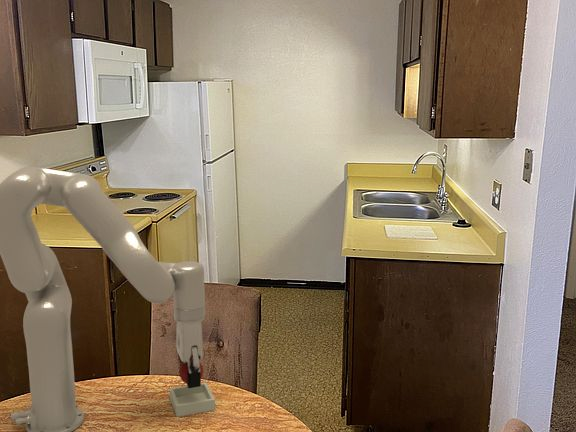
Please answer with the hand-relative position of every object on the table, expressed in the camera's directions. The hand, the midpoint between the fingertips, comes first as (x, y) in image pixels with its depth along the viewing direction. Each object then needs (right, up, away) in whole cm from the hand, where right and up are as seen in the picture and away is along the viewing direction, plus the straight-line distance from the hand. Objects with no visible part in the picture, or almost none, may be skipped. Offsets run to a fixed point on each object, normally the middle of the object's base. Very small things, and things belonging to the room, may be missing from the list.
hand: (191, 380), depth 141 cm
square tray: (0, -6, +1) cm, 6 cm away
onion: (0, -2, 0) cm, 2 cm away
